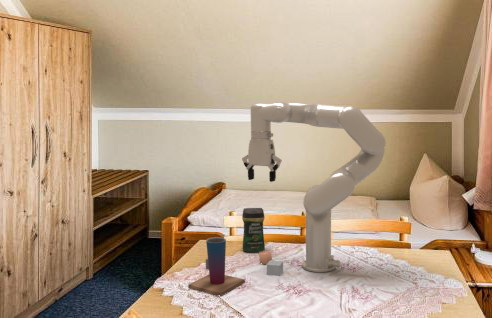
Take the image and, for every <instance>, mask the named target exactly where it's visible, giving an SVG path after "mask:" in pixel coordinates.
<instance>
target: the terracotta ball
mask: <svg viewBox="0 0 492 318" xmlns="http://www.w3.org/2000/svg"><path fill="white" fill-rule="evenodd" d="M258 259H259V264H260V263H262V264H261V265H267V263H268V262H269V261H270V260H273V256H272V251H270V250H264V251H261V252H258Z"/></svg>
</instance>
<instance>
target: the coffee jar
mask: <svg viewBox="0 0 492 318" xmlns="http://www.w3.org/2000/svg"><path fill="white" fill-rule="evenodd" d="M241 215H242V216H241V217H242V222H243V236H242V251H243V252H246V253H259V252H261V251H265V250H266V248H265V247H266V245H265V243H266V242H265V235H264V220H265V211H264V208H262V207H247V208H243V211H242V214H241Z"/></svg>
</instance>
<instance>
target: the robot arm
mask: <svg viewBox="0 0 492 318" xmlns="http://www.w3.org/2000/svg"><path fill="white" fill-rule="evenodd" d="M272 123H276V124H279V123H280V124H281V123H293V124H295V123H297V124H304V125H310V126H312V127H315V128H317V127H318V128H328V129H341V130H343V131H345V132H346V133H347V135H348V136H349V137H350V138H351V139H352V140H353V142H355V143H356V145H358V147H359V148H360V151H359V152H358V153H357V155H355V156H354V157H353V158H351V159H350V160H349V161H348V162H346V163H345V164H343V165H342V166H341V167H339V168H337V169H336V170H334V171H333V172H332V173H331V174H330V175H329V177H328V178H326V179H325V180H324V181H322V182H321V183H320V184H315V185H312V186H311V187H309V188H308V190H307V191H306V193H305V195H304V197H303V200H302V201H303V203H302V204H303V207H304V210H305V260H304V261H302V263H301V268H302V269H304V270H306V271H308V272H311V273H312V272H314V273H326V272H327V273H328V272H331V271H333V270H335V269H336V268H341V265H342V263H341V260H339V259H335V256H334V255H332V209H334V208H335V207H336V206H338V205H340V204H341V203H342V202H344V201H345V200H346V199H348V198H349V196H351V195H352V194H353V192H354V190H355V188H356V186H357V185H358V184H360V183H361V182H362V181H364V180H365V179H366V178H367V177H369V176H370V175H372V173H374V172H376V170H377V169H378V168H379V166H380V164H381V163H382V161H383V159H384V155H385V147H386V138H385V136H384V134H383V133H382V132H381V131H380V130H379V129H378V128H377V127H376V126H375V125H374V124H373V123H372V122H371V121H370V120H369V119H368V117H366V116H365V114H364V113H363V112H362V110H361V109H360V108H358V107H356V106H354V105H344V104H343V105H342V104H341V105H339V104H327V103H307V104H306V103H293V102H291V103H290V102H283V101H282V102H275V103H252V104H251V106H250V139H249V143H248V151H247V152H248V153H247V155H244V156H243V157H242V158H241V159H242V163H243V166H245V168H246V170H247V179H248V181H252V180H254V179H255V168H254V167H255V166H258V167H267V168H268V169H269V170H270V171H269V174H268V175H269V182H270V183H272V182H275V181H276V178H277V174H276V173H277V172H276V171H277V170H278V169H279V168H280V165H281V163H282V159H281V158H279V157H278V156H277V155H276V149H275V148H276V147H275V143H274V140H273V139H272V137H274V133H272V131H271V126H272V125H271V124H272Z"/></svg>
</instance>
